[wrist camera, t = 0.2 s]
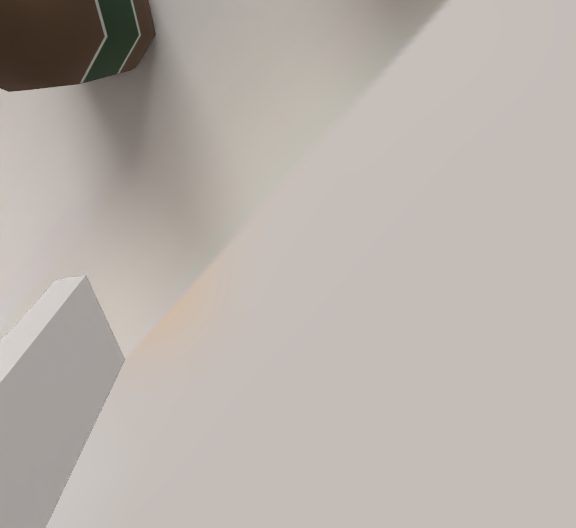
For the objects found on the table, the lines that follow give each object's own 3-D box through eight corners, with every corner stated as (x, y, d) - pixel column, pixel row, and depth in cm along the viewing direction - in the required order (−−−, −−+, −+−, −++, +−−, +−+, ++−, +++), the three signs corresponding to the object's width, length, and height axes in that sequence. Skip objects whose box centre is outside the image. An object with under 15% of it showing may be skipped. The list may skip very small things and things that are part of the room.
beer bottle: (179, 41, 32) (-15, 63, 11) (99, 93, 34) (-199, 198, 13) (112, -73, 29) (-349, -351, 8) (27, -9, 30) (-539, -92, 9)
